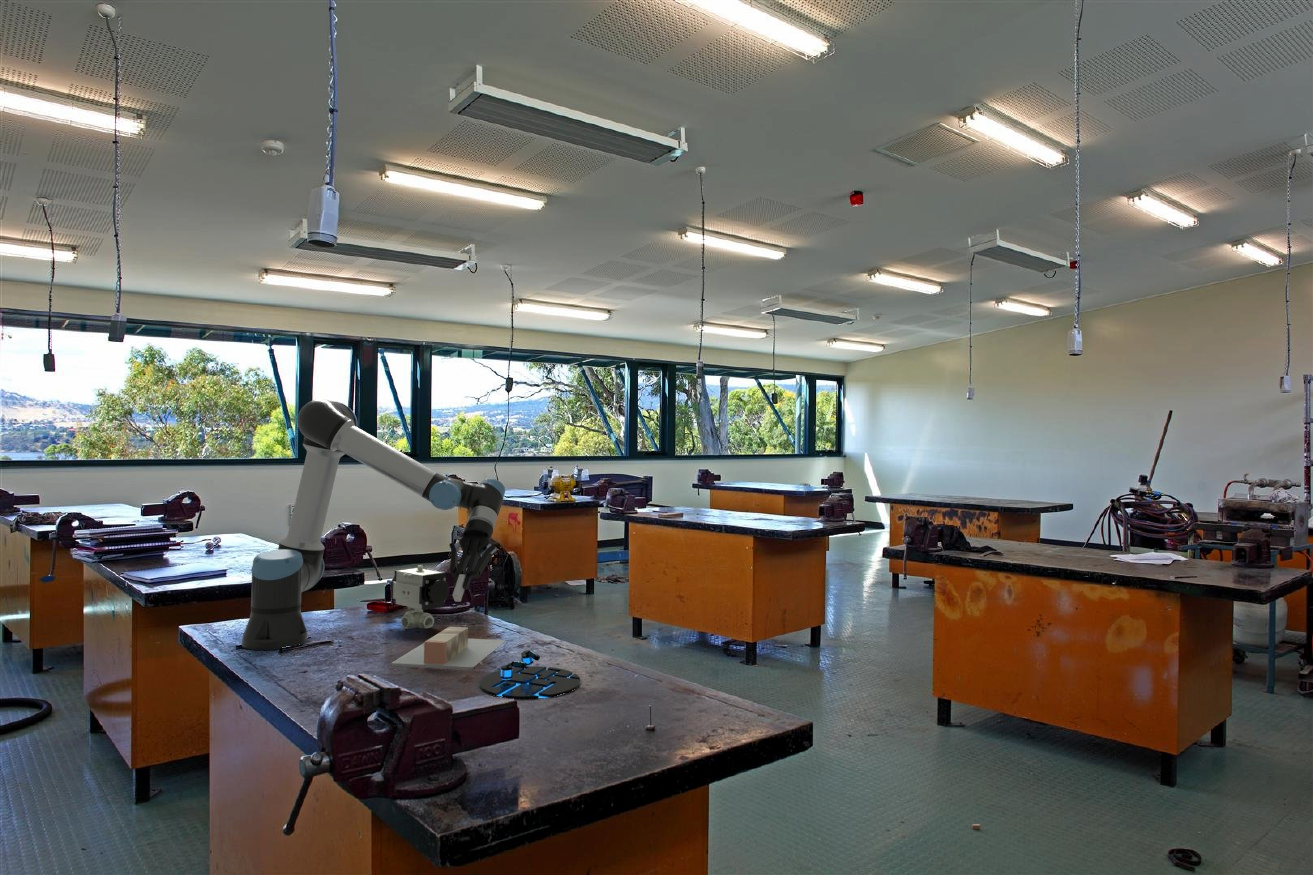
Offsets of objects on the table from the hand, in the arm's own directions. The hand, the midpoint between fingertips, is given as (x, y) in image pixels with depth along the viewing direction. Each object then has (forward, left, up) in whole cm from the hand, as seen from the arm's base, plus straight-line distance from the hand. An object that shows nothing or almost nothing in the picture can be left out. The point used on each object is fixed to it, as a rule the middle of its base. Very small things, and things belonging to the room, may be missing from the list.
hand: (456, 598), depth 193 cm
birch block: (-2, +2, -10) cm, 11 cm away
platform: (+34, -4, -14) cm, 37 cm away
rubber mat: (+1, -2, -13) cm, 14 cm away
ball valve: (-29, +7, -14) cm, 33 cm away
